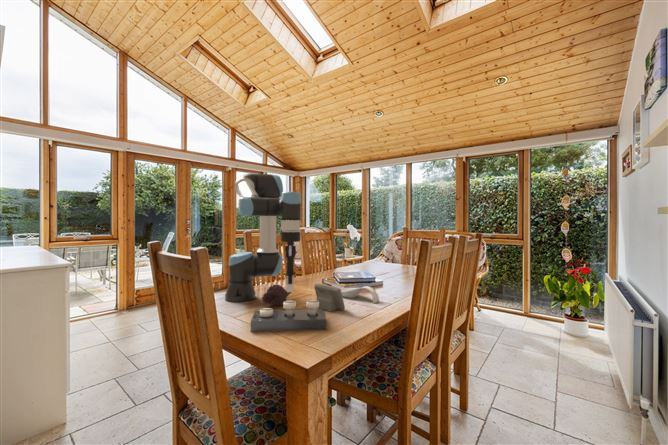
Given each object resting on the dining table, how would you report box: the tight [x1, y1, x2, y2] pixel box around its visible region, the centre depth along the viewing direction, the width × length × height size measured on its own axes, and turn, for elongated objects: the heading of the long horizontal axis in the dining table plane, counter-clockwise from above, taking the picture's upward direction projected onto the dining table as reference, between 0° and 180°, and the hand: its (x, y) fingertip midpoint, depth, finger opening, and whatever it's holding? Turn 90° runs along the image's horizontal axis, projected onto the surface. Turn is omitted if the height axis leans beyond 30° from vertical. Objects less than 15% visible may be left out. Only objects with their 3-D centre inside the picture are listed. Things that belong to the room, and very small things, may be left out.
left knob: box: [259, 307, 274, 317], centre depth 119 cm, size 5×5×6 cm
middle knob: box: [282, 300, 297, 317], centre depth 120 cm, size 5×5×6 cm
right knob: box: [305, 299, 320, 316], centre depth 121 cm, size 5×5×6 cm
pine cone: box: [261, 284, 292, 306], centre depth 146 cm, size 18×10×10 cm, turn 145°
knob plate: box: [250, 309, 328, 333], centre depth 120 cm, size 28×12×4 cm, turn 97°
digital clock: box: [313, 283, 346, 312], centre depth 144 cm, size 16×9×11 cm, turn 38°
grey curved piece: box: [340, 285, 380, 304], centre depth 162 cm, size 24×12×7 cm, turn 49°
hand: (290, 291), depth 120 cm, fingers closed
